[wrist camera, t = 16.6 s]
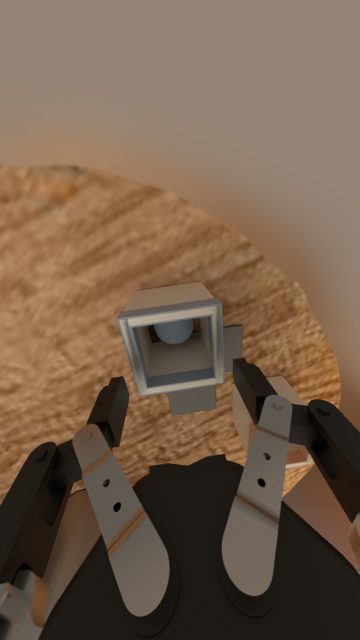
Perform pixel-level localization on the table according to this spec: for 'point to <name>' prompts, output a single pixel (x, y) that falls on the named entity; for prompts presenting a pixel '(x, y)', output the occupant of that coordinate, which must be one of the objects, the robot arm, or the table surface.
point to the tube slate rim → (173, 359)
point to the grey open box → (246, 427)
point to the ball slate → (174, 331)
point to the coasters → (206, 395)
